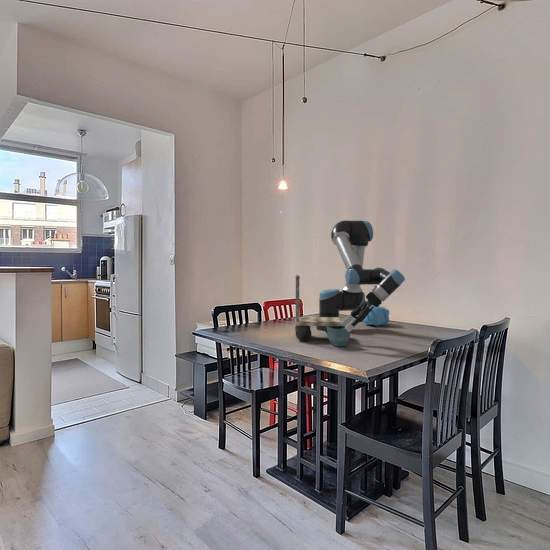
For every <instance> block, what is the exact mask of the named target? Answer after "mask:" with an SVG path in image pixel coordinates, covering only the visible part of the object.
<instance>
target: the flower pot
mask: <svg viewBox="0 0 550 550" xmlns="http://www.w3.org/2000/svg"><path fill="white" fill-rule="evenodd" d="M351 332H352V330H351V331H350V332H348V331H347V330H346V329H345V326H327V333H326V335H327V334H328V335H327V337H328V338H327V339H328V341H329V343H330V344H331V346H333V347H337V348H338V347H346V346H348V344H349V341H350V337H351Z"/></svg>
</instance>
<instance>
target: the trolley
mask: <svg viewBox="0 0 550 550" xmlns="http://www.w3.org/2000/svg"><path fill="white" fill-rule="evenodd" d="M300 279H301V276H300V275H299V274H295V317H294V319H295V320H294V321H295V323H294V324H295V327H294V331H295V337H296V339H297V340H298V341H300V342H307V341H309V340H310V339H311V337H312V335H313V334H312V330H311V326H313V327H316V326H325V330H324V332H325V333H326V335H327V336H328V334H327V326H343V325H342V324H341V323H342V322H343V321H344V320H343V319H342V318H341V317H340V316H339V317H319V316H300Z"/></svg>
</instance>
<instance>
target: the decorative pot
mask: <svg viewBox="0 0 550 550" xmlns="http://www.w3.org/2000/svg"><path fill="white" fill-rule="evenodd" d="M373 306H374V305H373ZM389 317H390V310H389V309H388V308H386V307H385V306H382V305H379V306H378V307H375V306H374V308H373V309H372V310H371V311H370V313H369V314H368V315H367V316H366V318H365V319H364V320H363V321H362V323H363V324H365V325H366V326H374V327H380V326H381V327H382V326H385V325H387V324H389V323H390V322H391V319H390V318H389Z"/></svg>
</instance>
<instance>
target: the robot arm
mask: <svg viewBox="0 0 550 550" xmlns="http://www.w3.org/2000/svg"><path fill="white" fill-rule="evenodd" d="M330 238H331V239H330V240H331V241H332V243H333V245H335V246H336V249H337V251H338V253H339V255H340V258H341V260H342V262H343V264H344V266H345V268H346V271H345V274H344V277H345V285H344V286H343V287H342V291H341V290H340V289H339V288H334V289H332V288H331V289H324V290H322V291H320V292H319V298H318V302H319V303H318V306H319V308H318V309H319V315H318V317H340V312H341V311H342V312H350V314H349V315H347V317H346V318H344V319H343V320H342V321H343V322H342V323H341V324H342V325H343V326H345V329H346V330H347V331H348V332H350V331H351V332H352V330H353V329H355V327H357V326H358V325H359V324H360V323H361V322H362V323H363V320H364V319H365V318H366V316H367V315H368V314H369V313H370V311H371V310H372V309H373V308H374V306H375V307H378V306H381V304H383V302H385V301H386V300H387V299H388V298H389V297H390V296H391V295H392V294H393V293H394V292H395V291H396V290H397V289H398V288H399V287H400V286H402V284H403V283H404V282H405V281H406V278H405V276H404V275H403V273H401V271H399V270H398V269H395V268H394V269H392V270H390V271H388V270H387V269H385V268H383V267H375V268H373V269H370V268H369V269H367V268H363V267H364V260H365V259H364V257H365V250H366V247H368V246H369V243H370V242H371V241H373V238H374V228H373V225H372V224H371V222H369V221H367V220H348V219H347V220H340V221H339V222H337V223H336V224H334V226H333V227H332V230H331V233H330ZM361 285H363V286H364V285H373V286H374V287H373V289H371V291H369V292H368V293H367V294H366V295H365V292H364V291H363V288H362V287H361ZM373 305H374V306H373ZM315 328H316V330H320V331H325V326H315ZM351 332H350V333H351Z"/></svg>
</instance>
